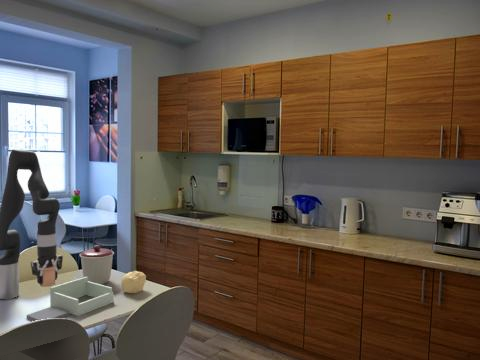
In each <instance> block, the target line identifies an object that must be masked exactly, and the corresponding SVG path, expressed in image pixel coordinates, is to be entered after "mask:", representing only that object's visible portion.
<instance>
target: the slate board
mask: <svg viewBox="0 0 480 360" xmlns="http://www.w3.org/2000/svg"><path fill="white" fill-rule="evenodd" d="M67 316H69V313H68V312H67V311H64V310H61V309H58V308H55V307H52V306H49V307H45V308H42V309H40V310H37V311H34V312H31V313H28V314H26V319H27V318H28V319H27V320H29V319H30V321H32V320H33V321H32V322H34V321H35V320H41V319H47V318H60V319H63V318H65V317H67Z"/></svg>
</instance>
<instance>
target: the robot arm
mask: <svg viewBox="0 0 480 360" xmlns="http://www.w3.org/2000/svg"><path fill="white" fill-rule="evenodd" d="M19 170H24V171H26V170H27V171H28V170H29V171H30V172H31V175H30V176H29V178H28V180H27V188H28V191H29V193H30V195H31V198H32V211H33V213H34V214H35V215H36V216H47V217H46V218H44V219H42V220H39V221H38V222H37V239H36V243H37V244H36V245H37V246H36V248H37V249H36V250H37V251H36V252H37V253H36V254H37V259H36V260H34V261H32V260H31V262H30V268H31V273H32V275H33V276H36V279H37V280H36V282H37V284H38V285H40V284H43V276H42V274H43V271H44V268H46V267H50V266H52V265H53V266H56V268H55V281H57V280H58V272H59V270H62V268H63V261H64V260H63V259H64V256H63V255H60V254H58V255H57V235H56V234H57V233H56V228H57V227H56V225H57V219H58V216H59V211H60V208H61V206H60V201H59V200H58V199H57V198H56V197H51V198H50V197H49V196H50V191H49V189H48V187H47V185H46V183H45V181H44V178H43V174H42V169H41V166H40V162H39V159H38V155H37V153H36V152H35V151H33V150H27V149H12V150H11V151H10V154H9V156H8V165H7V173H6V179H5V186H4V190H3V194H2V199H1V204H0V252H1V251H4V253H3V254H1V255H0V299H8V300H11V299H10V298H13V299H15V298H14V297H16V298H18V297H20V272H19V271H20V270H19V269H20V268H19V258H20V255H21V236H20V233H19V231H18V230H16V229H10V226H11V225H12V223H13V222H14V220H16V218H17V217H18V216H19V214H20V213H21V212H22V210H23V208H24V203H25V199H26V194H25V191H24V188H23V187H22V186H21V184H20V182H19V179H18V171H19ZM40 267H43V268H40ZM40 270H41V271H40ZM17 296H18V297H17Z"/></svg>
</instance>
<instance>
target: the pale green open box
mask: <svg viewBox="0 0 480 360" xmlns="http://www.w3.org/2000/svg"><path fill="white" fill-rule="evenodd" d="M49 291H50V292H49V295H50V306H49V307H51V306H52V307H55V308H58V309H61V310H64V311H67V312H68V314H72V315H74V316H77V317H79V316H82V315H84V314H88V313H89V312H92V311H94V310H97V309H99V308H101V307H104V306H107V305H110V304H112V303H114V292H113V287H112V286H111V287H110V286H107V285H105V284H97V283H93V282H90V281H88V277H84V278H83V277H80V278H78V279H74V280H71V281H67V282H64V284H62V283H60V285H59V284H57V285H53V286H50V289H49ZM83 296H84V297H85V296H89V297H91V299H88V300H85V301H83V302H79V301H80V300H79V298H81V297H83Z"/></svg>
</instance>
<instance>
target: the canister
mask: <svg viewBox="0 0 480 360" xmlns="http://www.w3.org/2000/svg"><path fill="white" fill-rule="evenodd" d="M114 255H115V252H114V251H113V250H111V249H108V248H101V246H100V245H98V244H96V245H94V246H93V248H90V249H86V250H84V251H82V252H81V253H79V257H80V261H81V263H80V264H81V270H82V278H84V277H88V281H90V282H93V283H97V284H101V285H105V284H107V283H108V282H109V281H110V278H111V274H112V267H113V258H114V257H113V256H114Z"/></svg>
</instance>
